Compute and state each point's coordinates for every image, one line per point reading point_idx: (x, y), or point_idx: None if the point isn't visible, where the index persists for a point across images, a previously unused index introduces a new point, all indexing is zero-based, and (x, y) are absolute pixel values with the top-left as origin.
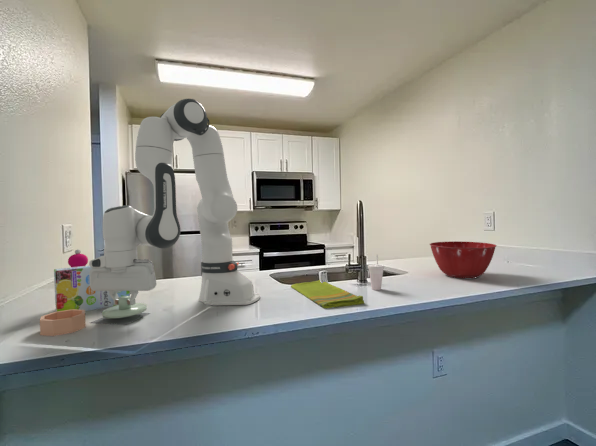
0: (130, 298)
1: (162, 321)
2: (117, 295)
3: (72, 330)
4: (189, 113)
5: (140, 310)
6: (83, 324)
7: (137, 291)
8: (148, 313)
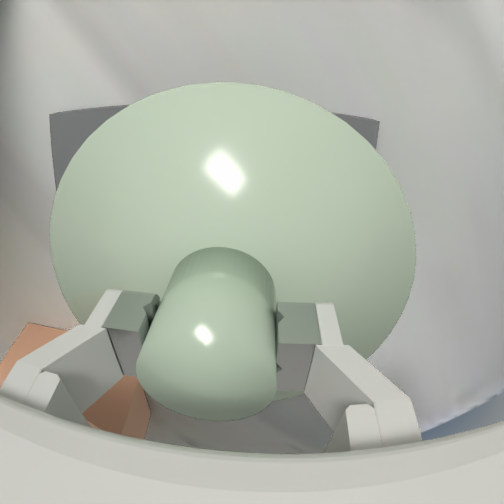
0: (322, 407)
1: (487, 255)
2: (75, 354)
3: (147, 426)
4: None
5: (395, 316)
6: (135, 403)
7: (409, 428)
8: (365, 128)
